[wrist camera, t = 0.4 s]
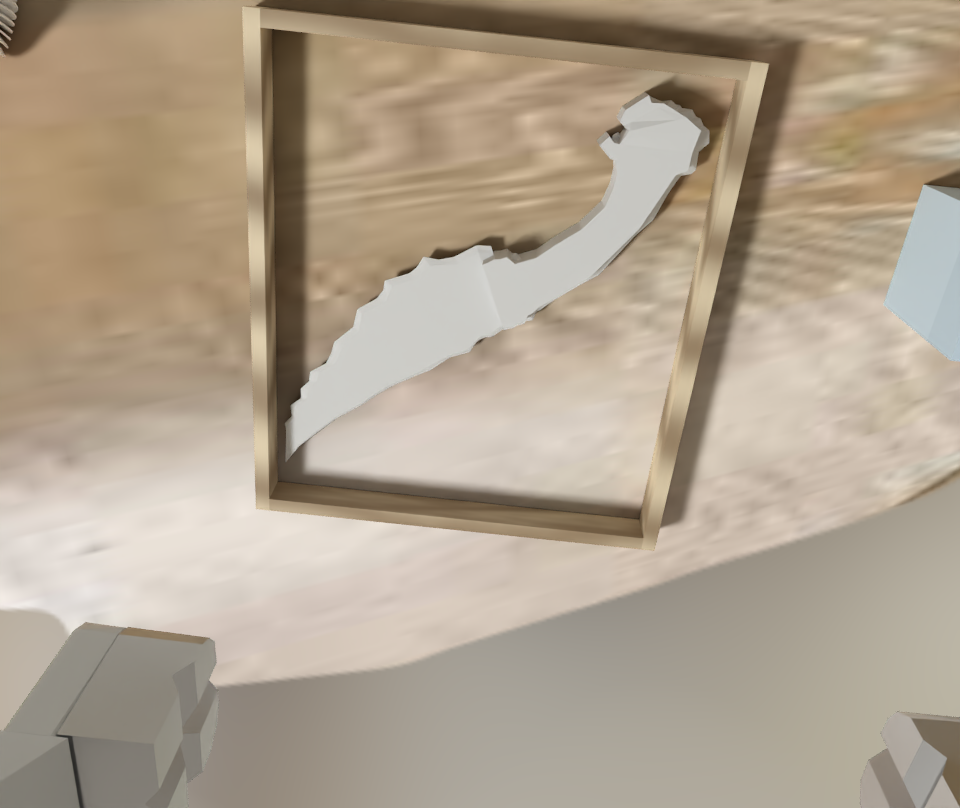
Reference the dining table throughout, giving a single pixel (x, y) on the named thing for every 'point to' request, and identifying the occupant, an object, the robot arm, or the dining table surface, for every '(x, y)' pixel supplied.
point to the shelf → (931, 271)
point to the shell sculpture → (7, 19)
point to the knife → (500, 275)
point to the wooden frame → (264, 297)
